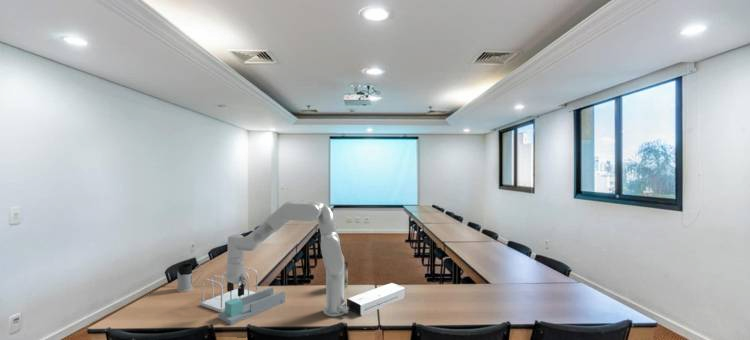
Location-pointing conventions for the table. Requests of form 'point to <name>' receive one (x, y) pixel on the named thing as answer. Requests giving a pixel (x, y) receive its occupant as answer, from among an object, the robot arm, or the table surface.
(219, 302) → the file sorter
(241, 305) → the teal block
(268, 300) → the sleeve
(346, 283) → the coffee box
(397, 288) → the laminator
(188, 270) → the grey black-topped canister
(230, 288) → the robot arm
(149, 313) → the table surface
